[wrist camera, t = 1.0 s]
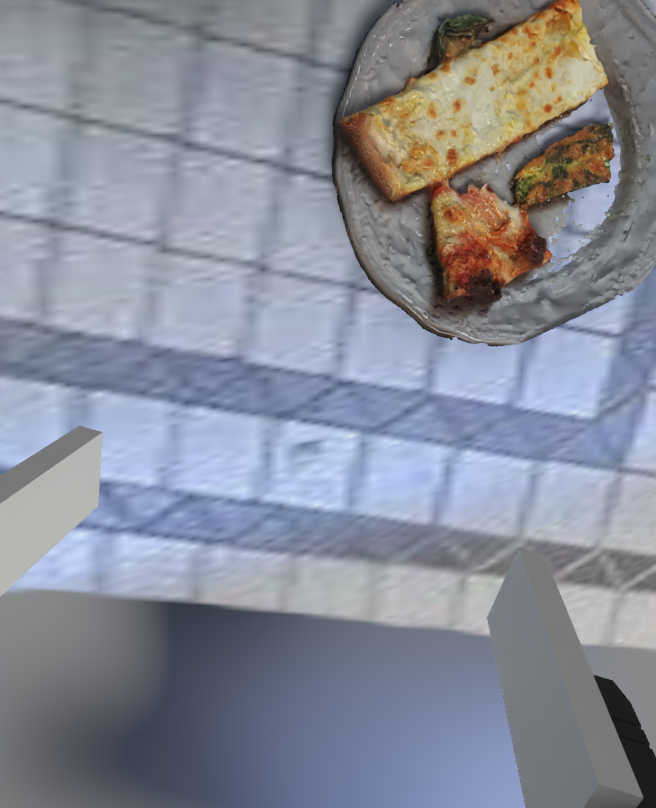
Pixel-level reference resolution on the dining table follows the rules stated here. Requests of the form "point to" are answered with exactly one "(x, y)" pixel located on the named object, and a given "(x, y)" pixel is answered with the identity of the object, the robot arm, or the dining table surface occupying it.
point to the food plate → (496, 159)
